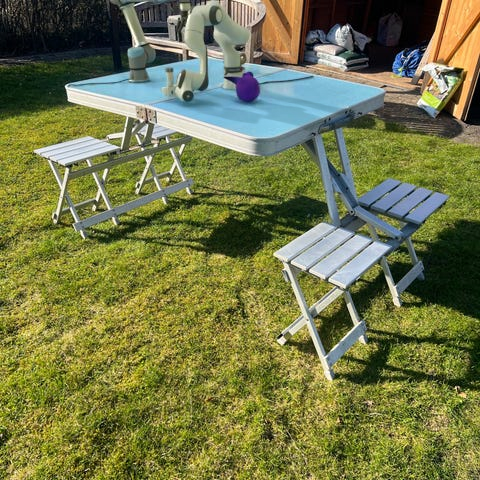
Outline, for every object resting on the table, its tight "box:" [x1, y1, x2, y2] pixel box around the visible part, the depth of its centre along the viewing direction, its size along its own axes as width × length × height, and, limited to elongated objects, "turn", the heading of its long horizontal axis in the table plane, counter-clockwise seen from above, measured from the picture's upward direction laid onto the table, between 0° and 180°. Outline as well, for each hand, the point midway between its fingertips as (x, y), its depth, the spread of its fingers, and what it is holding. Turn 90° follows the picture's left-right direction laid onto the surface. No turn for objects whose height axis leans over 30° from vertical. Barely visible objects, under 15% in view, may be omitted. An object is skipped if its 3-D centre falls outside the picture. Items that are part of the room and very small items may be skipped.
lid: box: [165, 66, 175, 73], centre depth 292 cm, size 5×5×2 cm
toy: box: [223, 71, 261, 103], centre depth 276 cm, size 16×18×27 cm
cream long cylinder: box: [165, 71, 175, 86], centre depth 296 cm, size 4×4×16 cm
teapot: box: [222, 52, 247, 67], centre depth 367 cm, size 21×12×15 cm, turn 120°
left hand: (187, 42), depth 327 cm, fingers open, 13 cm apart
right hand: (174, 86), depth 289 cm, fingers open, 8 cm apart
